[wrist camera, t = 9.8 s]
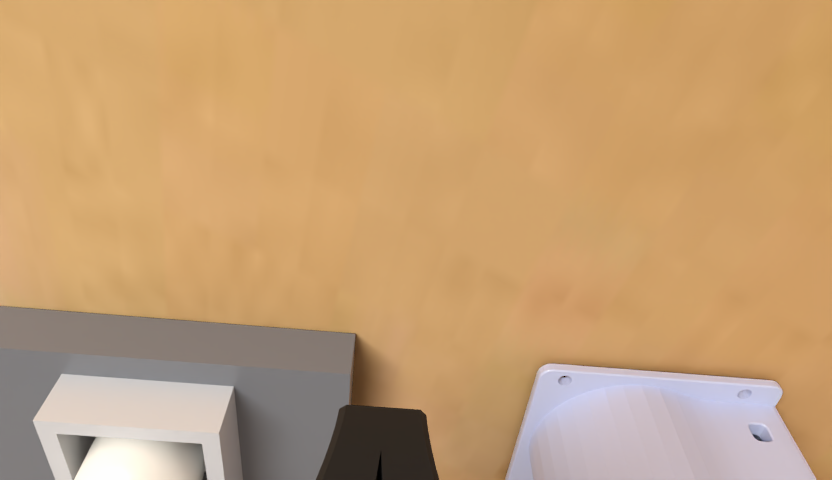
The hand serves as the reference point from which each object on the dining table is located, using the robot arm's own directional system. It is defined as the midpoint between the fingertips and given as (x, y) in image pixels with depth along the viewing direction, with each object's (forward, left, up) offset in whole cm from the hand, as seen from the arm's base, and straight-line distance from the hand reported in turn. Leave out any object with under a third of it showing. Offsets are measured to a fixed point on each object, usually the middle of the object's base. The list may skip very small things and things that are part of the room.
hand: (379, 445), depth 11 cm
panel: (+8, +18, -10) cm, 22 cm away
